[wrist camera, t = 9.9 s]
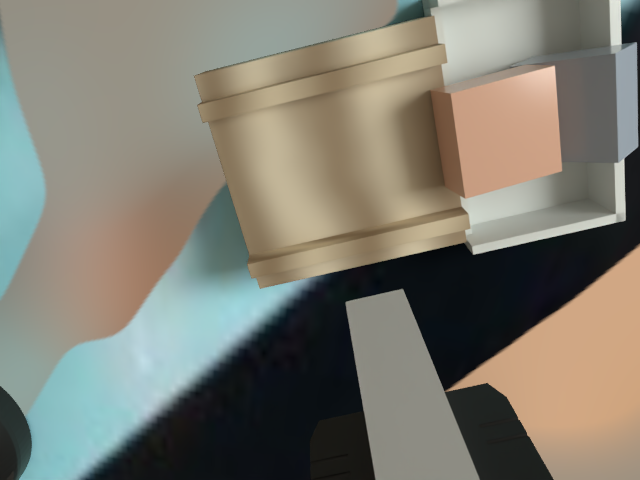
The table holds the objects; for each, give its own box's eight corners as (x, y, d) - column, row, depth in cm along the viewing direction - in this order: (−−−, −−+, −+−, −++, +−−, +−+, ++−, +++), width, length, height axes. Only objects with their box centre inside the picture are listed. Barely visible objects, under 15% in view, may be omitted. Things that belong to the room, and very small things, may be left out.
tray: (456, 233, 39) (473, 254, 35) (421, -1, 33) (437, -6, 29) (594, 202, 38) (625, 220, 34) (582, -42, 32) (619, -52, 29)
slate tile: (618, 162, 30) (638, 146, 32) (615, 53, 28) (636, 42, 29) (518, 161, 34) (540, 147, 36) (509, 66, 32) (533, 56, 34)
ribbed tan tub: (263, 264, 39) (257, 299, 34) (206, 71, 34) (188, 77, 29) (450, 221, 38) (473, 250, 33) (419, 17, 33) (440, 14, 28)
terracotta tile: (445, 186, 33) (465, 198, 30) (430, 90, 31) (450, 93, 28) (534, 161, 34) (562, 171, 31) (525, 64, 31) (554, 65, 29)
